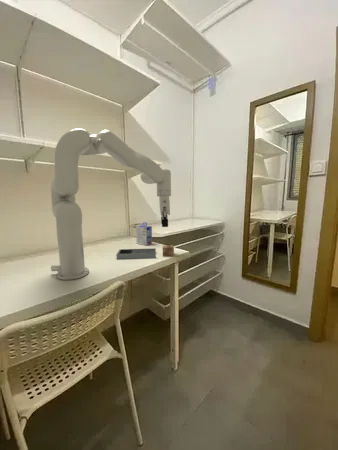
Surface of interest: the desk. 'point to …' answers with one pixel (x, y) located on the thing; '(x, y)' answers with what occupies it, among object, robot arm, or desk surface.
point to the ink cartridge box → (144, 234)
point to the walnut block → (168, 250)
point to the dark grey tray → (136, 253)
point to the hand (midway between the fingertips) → (164, 225)
